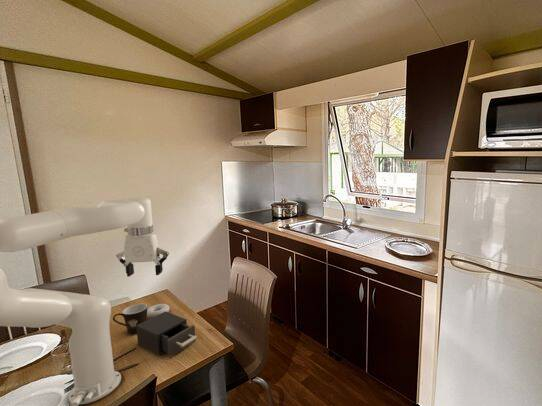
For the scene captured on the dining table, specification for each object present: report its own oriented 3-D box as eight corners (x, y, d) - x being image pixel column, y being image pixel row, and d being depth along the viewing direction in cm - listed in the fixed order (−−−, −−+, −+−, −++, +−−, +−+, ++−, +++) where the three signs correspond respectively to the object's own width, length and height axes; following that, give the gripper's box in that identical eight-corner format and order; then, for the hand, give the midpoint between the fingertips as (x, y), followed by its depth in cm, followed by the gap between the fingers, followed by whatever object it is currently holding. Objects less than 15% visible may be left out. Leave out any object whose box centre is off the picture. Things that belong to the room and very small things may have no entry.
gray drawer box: (187, 338, 114) (186, 319, 113) (159, 355, 104) (157, 335, 102) (167, 329, 120) (165, 311, 118) (138, 345, 109) (136, 325, 108)
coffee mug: (154, 325, 123) (152, 304, 121) (138, 337, 114) (135, 315, 113) (130, 323, 124) (128, 302, 122) (112, 334, 115) (110, 312, 114)
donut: (174, 312, 133) (163, 306, 138) (173, 306, 132) (162, 300, 137) (151, 322, 124) (140, 315, 130) (150, 315, 124) (140, 309, 129)
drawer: (202, 344, 109) (201, 328, 108) (177, 360, 100) (176, 343, 99) (175, 332, 116) (174, 317, 115) (149, 347, 107) (148, 331, 106)
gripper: (107, 234, 96) (112, 279, 98) (161, 232, 99) (165, 277, 101) (121, 228, 103) (125, 271, 106) (170, 228, 106) (174, 269, 109)
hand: (144, 274), depth 103 cm, fingers open, 9 cm apart
